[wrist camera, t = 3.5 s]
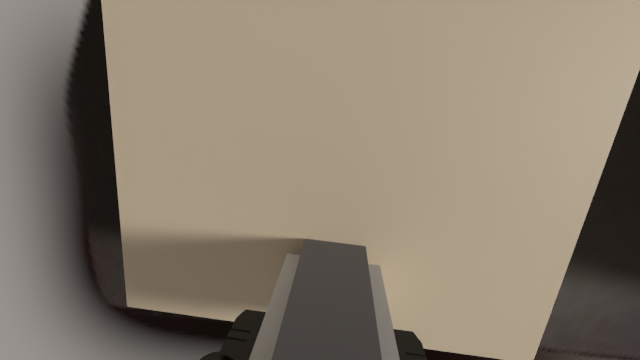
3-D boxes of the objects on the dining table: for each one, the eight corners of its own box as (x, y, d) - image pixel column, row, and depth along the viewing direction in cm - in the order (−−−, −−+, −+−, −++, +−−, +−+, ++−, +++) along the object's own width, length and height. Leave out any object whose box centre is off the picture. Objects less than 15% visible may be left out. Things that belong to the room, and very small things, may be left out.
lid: (112, -119, 13) (-425, -617, 4) (665, -78, 12) (1675, -624, 3) (141, 292, 18) (-53, 481, 9) (519, 345, 17) (707, 613, 8)
